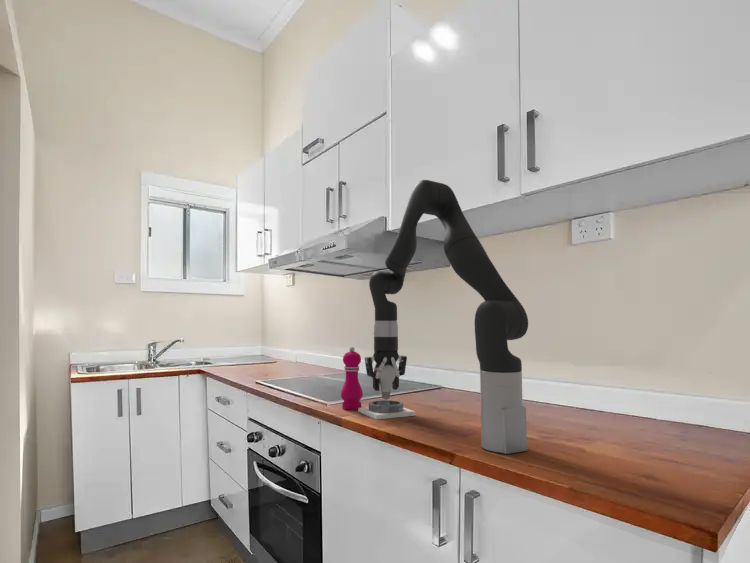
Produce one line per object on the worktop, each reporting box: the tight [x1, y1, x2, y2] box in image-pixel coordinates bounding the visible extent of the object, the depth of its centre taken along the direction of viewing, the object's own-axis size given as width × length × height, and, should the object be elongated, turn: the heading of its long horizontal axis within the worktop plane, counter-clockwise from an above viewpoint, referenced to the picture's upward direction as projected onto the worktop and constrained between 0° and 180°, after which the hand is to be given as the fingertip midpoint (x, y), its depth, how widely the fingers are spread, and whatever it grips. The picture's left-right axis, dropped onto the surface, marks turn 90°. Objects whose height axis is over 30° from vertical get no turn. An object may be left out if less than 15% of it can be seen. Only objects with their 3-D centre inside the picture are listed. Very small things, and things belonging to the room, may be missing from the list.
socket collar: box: [368, 399, 404, 413], centre depth 143 cm, size 10×10×2 cm
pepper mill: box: [340, 346, 364, 411], centre depth 153 cm, size 7×7×20 cm
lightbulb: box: [378, 365, 396, 400], centre depth 144 cm, size 6×6×11 cm
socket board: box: [357, 406, 416, 420], centre depth 143 cm, size 13×13×1 cm
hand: (386, 389), depth 144 cm, fingers closed on lightbulb, 5 cm apart
